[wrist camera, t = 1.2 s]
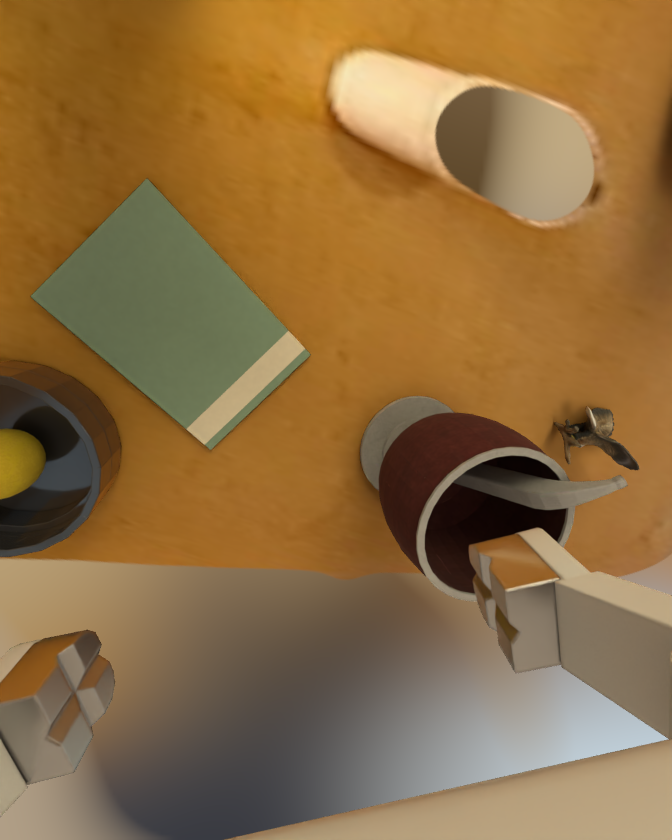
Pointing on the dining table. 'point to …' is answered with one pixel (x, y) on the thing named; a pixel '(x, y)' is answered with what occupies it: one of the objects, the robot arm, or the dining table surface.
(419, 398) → the mate gourd
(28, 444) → the lemon
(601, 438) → the eagle figurine
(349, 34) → the dining table surface
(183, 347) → the tea towel
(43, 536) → the pan
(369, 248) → the dining table surface
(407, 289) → the dining table surface
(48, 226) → the dining table surface
